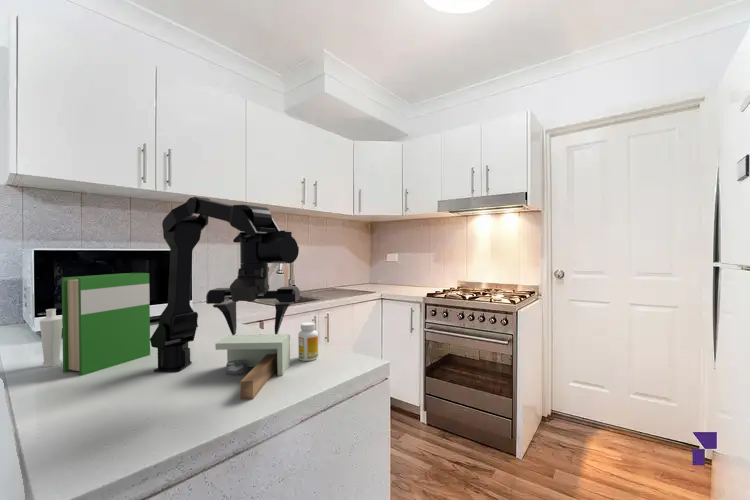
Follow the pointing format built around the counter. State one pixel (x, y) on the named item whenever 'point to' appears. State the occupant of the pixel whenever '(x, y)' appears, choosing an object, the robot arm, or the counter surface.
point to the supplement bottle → (308, 342)
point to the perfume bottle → (51, 338)
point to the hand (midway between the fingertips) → (255, 334)
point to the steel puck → (237, 367)
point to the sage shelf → (257, 349)
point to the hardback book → (104, 320)
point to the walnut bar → (258, 376)
